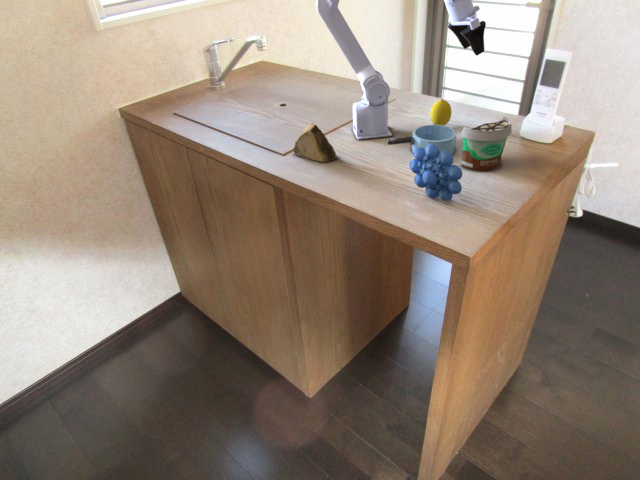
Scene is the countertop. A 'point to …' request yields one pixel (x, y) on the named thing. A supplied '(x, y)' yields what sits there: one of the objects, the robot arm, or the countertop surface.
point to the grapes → (436, 172)
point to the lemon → (440, 112)
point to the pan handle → (401, 140)
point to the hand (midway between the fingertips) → (474, 49)
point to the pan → (435, 137)
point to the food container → (485, 145)
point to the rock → (314, 145)
